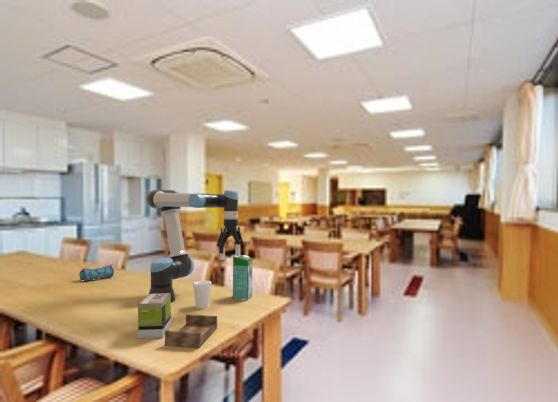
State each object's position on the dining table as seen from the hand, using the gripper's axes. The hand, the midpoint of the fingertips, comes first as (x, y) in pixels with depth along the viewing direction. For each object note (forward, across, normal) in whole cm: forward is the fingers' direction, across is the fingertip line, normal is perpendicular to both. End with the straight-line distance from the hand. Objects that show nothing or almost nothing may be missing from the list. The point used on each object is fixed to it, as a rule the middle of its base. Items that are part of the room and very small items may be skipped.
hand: (230, 257), depth 180 cm
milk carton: (+26, +15, +2) cm, 30 cm away
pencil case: (+28, +1, +121) cm, 124 cm away
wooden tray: (+26, -42, -13) cm, 51 cm away
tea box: (+26, -46, +5) cm, 53 cm away
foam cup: (+26, -10, +11) cm, 30 cm away
